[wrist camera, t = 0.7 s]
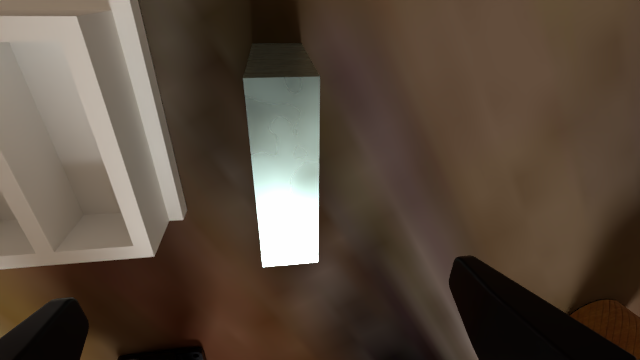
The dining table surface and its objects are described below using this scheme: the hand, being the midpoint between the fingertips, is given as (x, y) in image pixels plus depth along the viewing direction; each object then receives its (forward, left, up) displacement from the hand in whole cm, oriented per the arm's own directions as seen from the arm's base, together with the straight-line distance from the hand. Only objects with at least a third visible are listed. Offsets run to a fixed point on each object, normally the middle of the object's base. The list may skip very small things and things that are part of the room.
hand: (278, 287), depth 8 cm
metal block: (0, 0, -12) cm, 12 cm away
